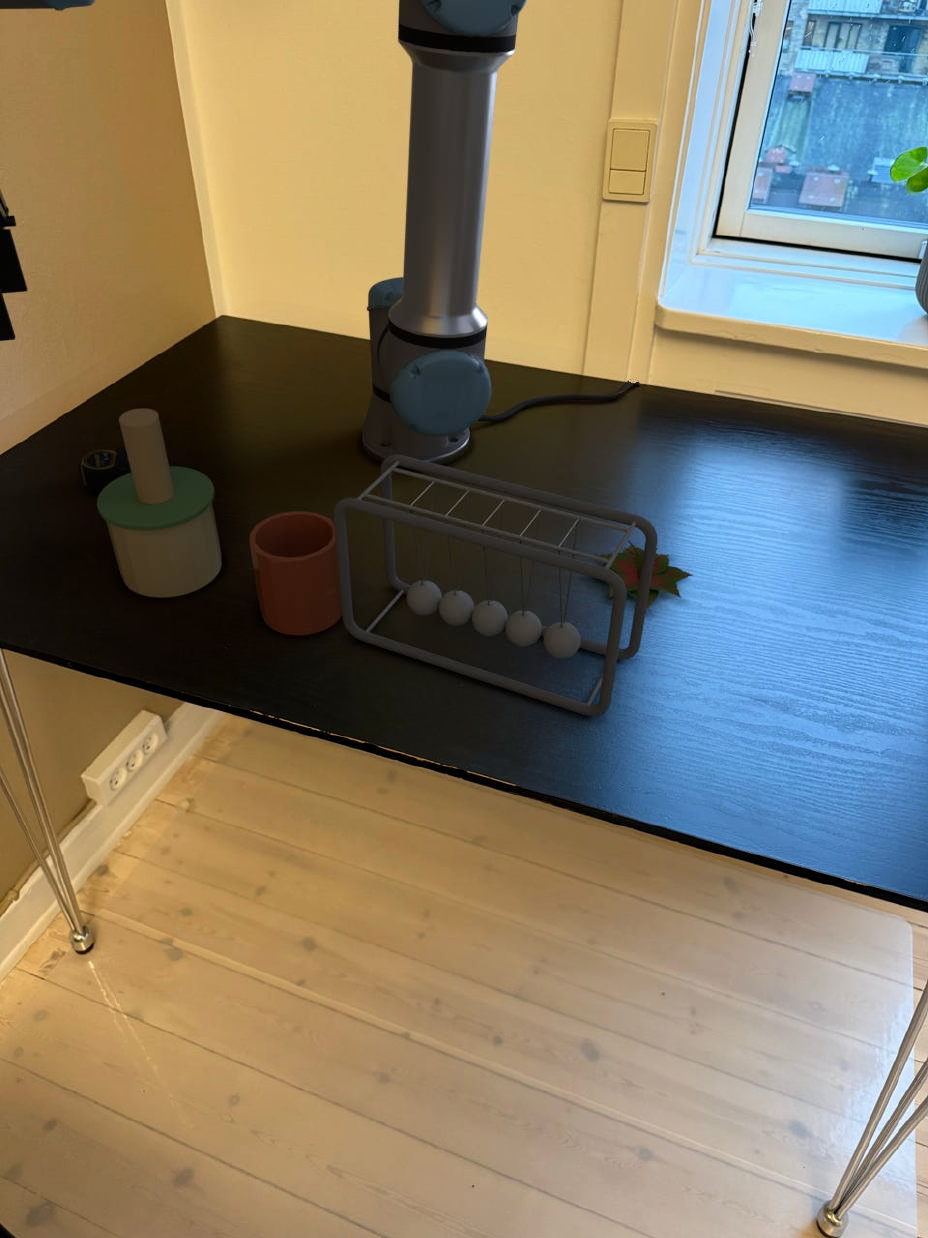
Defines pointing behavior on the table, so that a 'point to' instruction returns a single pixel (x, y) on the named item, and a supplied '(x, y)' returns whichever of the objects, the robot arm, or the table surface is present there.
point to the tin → (169, 556)
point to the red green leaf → (630, 571)
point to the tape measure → (103, 467)
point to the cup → (297, 572)
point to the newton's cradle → (491, 614)
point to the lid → (152, 481)
